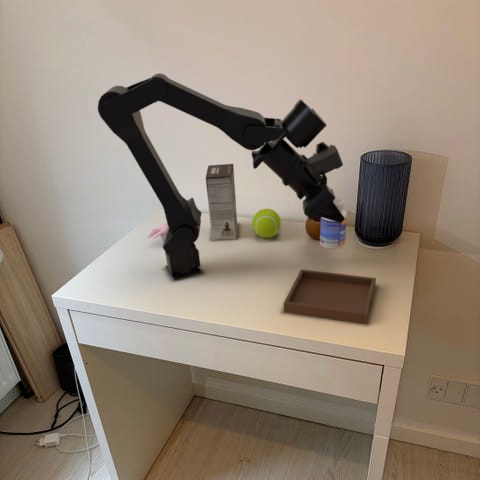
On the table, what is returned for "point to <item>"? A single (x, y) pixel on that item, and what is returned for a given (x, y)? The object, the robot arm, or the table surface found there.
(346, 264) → the table surface
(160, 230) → the rabbit figure
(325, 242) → the pill bottle
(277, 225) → the tennis ball
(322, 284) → the tray
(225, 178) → the coffee box
